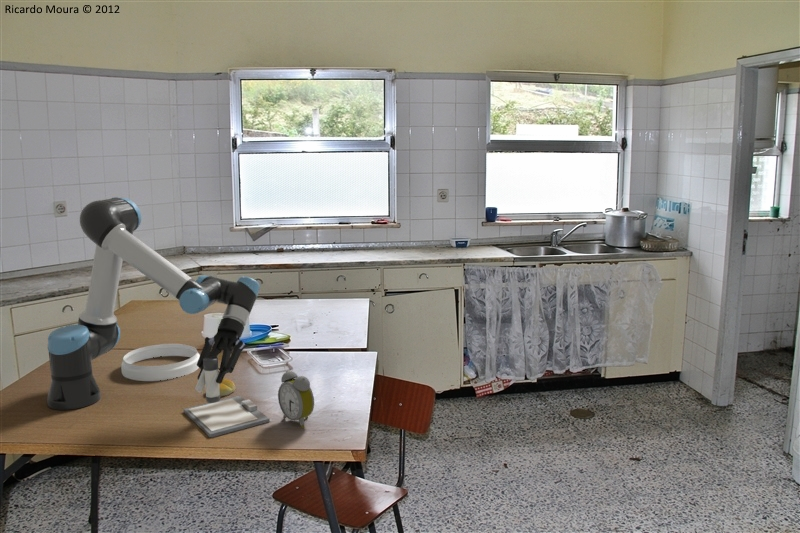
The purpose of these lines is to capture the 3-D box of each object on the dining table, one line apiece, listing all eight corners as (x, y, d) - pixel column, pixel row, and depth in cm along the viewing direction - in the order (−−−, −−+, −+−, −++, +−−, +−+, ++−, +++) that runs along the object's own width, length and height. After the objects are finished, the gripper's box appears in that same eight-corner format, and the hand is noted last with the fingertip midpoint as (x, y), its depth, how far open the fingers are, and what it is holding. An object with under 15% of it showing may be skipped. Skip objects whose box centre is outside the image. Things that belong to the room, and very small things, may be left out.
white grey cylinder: (203, 399, 197) (201, 358, 195) (217, 396, 200) (214, 355, 197) (208, 404, 194) (206, 362, 191) (222, 400, 196) (220, 359, 194)
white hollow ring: (149, 387, 221) (148, 372, 220) (107, 370, 237) (105, 356, 236) (215, 366, 242) (215, 352, 241) (172, 352, 258) (171, 338, 257)
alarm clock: (277, 419, 196) (276, 371, 193) (296, 412, 200) (295, 365, 197) (301, 431, 187) (299, 381, 185) (320, 424, 192) (319, 375, 189)
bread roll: (202, 395, 214) (201, 384, 213) (219, 386, 222) (219, 375, 221) (223, 399, 211) (222, 387, 210) (240, 389, 219) (239, 378, 218)
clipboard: (183, 411, 200) (183, 404, 200) (239, 398, 211) (239, 391, 211) (210, 437, 183) (210, 429, 183) (269, 421, 194) (269, 414, 193)
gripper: (262, 330, 205) (235, 400, 193) (215, 326, 210) (186, 393, 198) (252, 318, 199) (223, 389, 187) (204, 314, 204) (174, 383, 192)
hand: (204, 391), depth 192 cm, fingers closed on white grey cylinder, 4 cm apart
